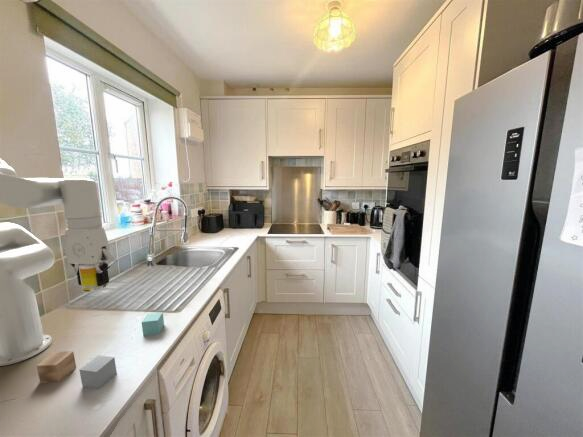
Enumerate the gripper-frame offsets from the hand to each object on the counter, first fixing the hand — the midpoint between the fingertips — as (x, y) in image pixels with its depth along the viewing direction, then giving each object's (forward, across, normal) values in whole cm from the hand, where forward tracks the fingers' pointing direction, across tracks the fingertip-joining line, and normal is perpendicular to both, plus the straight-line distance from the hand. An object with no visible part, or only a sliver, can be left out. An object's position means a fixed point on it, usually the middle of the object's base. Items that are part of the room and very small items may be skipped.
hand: (94, 283), depth 70 cm
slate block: (+22, +9, -10) cm, 26 cm away
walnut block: (+22, -4, -10) cm, 24 cm away
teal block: (+22, +8, +11) cm, 26 cm away
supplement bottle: (+2, 0, 0) cm, 2 cm away
